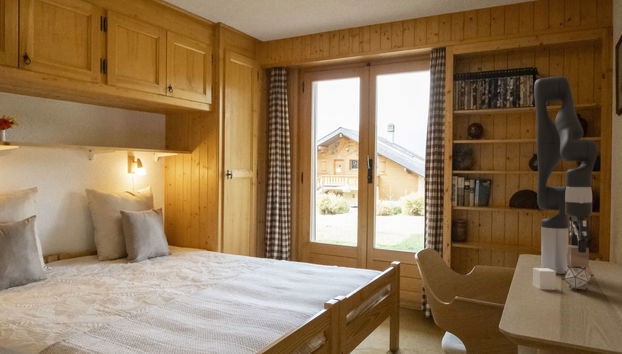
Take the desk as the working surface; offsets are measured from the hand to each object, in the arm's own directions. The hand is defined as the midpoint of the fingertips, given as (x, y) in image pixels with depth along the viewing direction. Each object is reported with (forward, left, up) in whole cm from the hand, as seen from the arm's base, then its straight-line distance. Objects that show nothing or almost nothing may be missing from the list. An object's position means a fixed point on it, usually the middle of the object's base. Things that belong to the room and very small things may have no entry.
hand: (578, 250), depth 142 cm
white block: (+1, -10, -13) cm, 16 cm away
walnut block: (0, 0, -5) cm, 5 cm away
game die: (0, 0, -13) cm, 13 cm away
